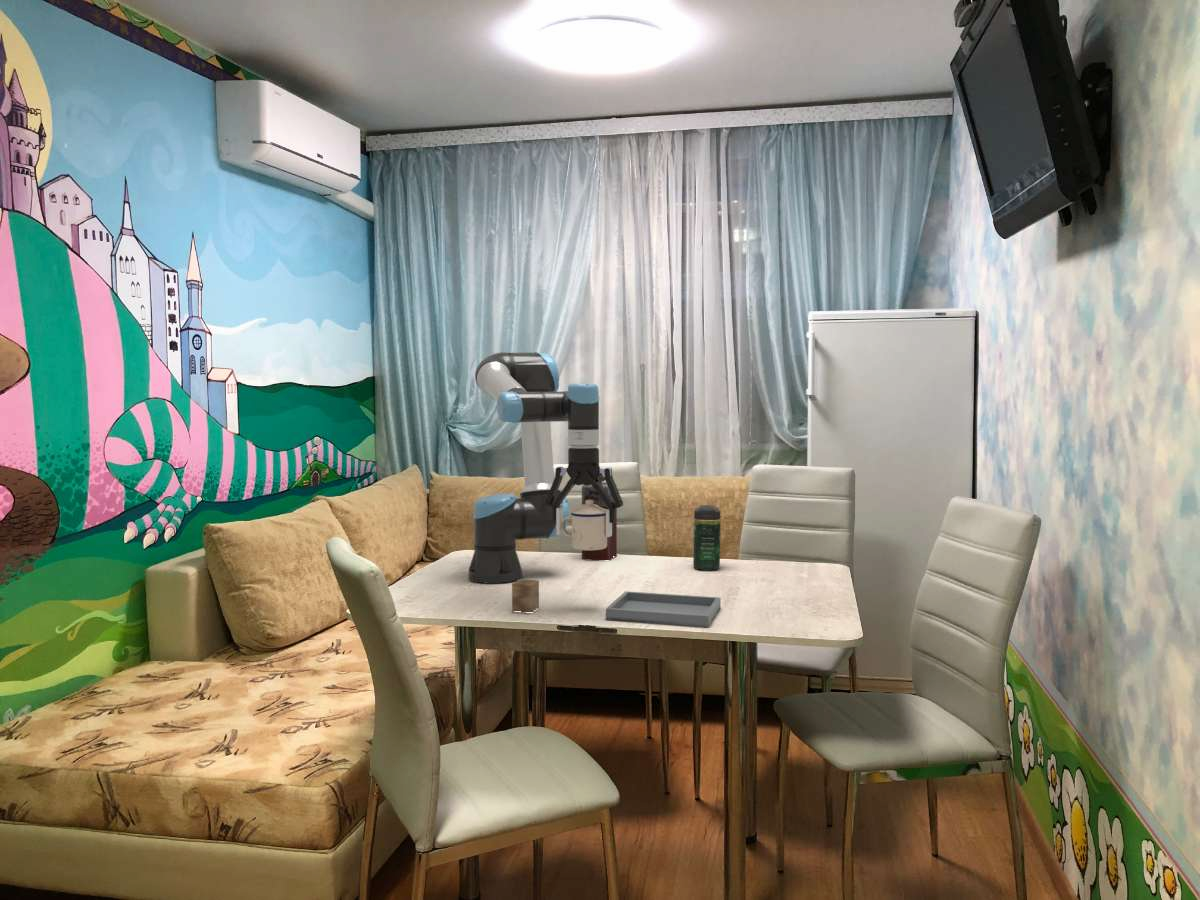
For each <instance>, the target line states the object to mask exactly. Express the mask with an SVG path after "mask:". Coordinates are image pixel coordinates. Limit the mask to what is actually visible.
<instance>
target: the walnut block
mask: <svg viewBox="0 0 1200 900" xmlns="http://www.w3.org/2000/svg"><path fill="white" fill-rule="evenodd" d="M511 583H512V582H511ZM511 608H512V609H511V612H512V611H521V612H533V611H534V610H536V609H537V608H539V609H540V581H539V580H538V579H537V580H536V579H535V580H533V579H522V578H521V579H519V580H517V581H513V583H512V584H511ZM536 611H537V610H536Z"/></svg>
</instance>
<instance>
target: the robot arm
mask: <svg viewBox="0 0 1200 900" xmlns="http://www.w3.org/2000/svg"><path fill="white" fill-rule="evenodd" d="M558 368H559V367H558V364H557V362H556V360H555V359H554V357H553V356H552V355H551V354H549V353H545V352H542V353H541V352H536V351H535V352H496V353H493V354H491V355H488V356H487V357H485V358H484V359H483V360H481V361H480V362H479V364H478V365H477V367H476V370H475V373H474V380H475V384H476V385H477V387H478V388H479V389H480V390H481V392H483V394H486V395H489V396H491V397H492V398H493V400H495V401H496V409H497V410H496V411H497V415H498V419H499V420H500V421H501V422H502V423H513V424H517V423H520V429H521V431H520V432H521V447H522V459H523V460H522V461H523V478H524V487H523V488H522V489H521V491H520V493H519V494H520V496H519V497H520V498H517V496H516V495H515V494H514V493H498V494H497V493H496V494H491V495H486V496H483V497H480V498H479V499H477V500H476V501H475V502H474V505H473V517H472V518H473V541H474V542H473V543H474V544H473V545H474V546H473V547H474V548H473V549H474V550H473V554H472V558H471V560H470V564H469V566H468V567H469V568H468V575H467V576H468V577H467V579H468V578H469V579H470V580H469V579H468V580H469V581H471V580H473V581H477V582H476V583H478V582H487V583H486V584H503V583H502V582H507V583H512V582H511V581H513V582H516V580H517V581H518V580H519V579H522V578H523V568H522V564H521V561H520V559H519V556H518V553H517V540H518V541H520V540H534V539H536V540H537V539H546V540H548V539H550V538H558V537H560V536H562V535H563V534H564V533H563V531H562V529H561V522H562V520H563V519H564V518H566V517H570V506H569V503H568V498H567V496H568V495H569V493H570V492H571V491H572V489H573V488H574V487H575V486H583V485H588V486H589V485H592V487H593V488H595V490H596V491H597V493H598V494H599V495H600V497H601V498H602V500H603V501H604V502H605V504H606V505H607V507H608V508H609V509H607V510H606V537H610V536H612V523H614V522H615V521H616V509H618V508H621V507H623V506H624V501H623V499H622V497H621V495H620V492H619V489H618V487H616V486H617V483H616V484H615V479H614V477H613V469H612V468H611V467H606V468H601V467H600V449H599V447H597V446H599V445H600V427H599V426H600V418H599V417H600V395H599V394H600V393H599V386H598V384H597V383H594V382H593V383H592V382H591V383H589V382H588V383H570V384H568V386H567V390H565V391H558V390H559V386H560V372H559V369H558ZM551 422H552V423H554V422H555V423H556V422H567V438H568V439H567V442H568V443H567V444H568V446H570V447H569V448H568V449H567V451H568V452H567V453H568V454H567V463H568V464H567V467H563V466H557V467H556V468H554V456H553V442H552V440H553V439H552V428H551ZM554 469H555V471H554ZM600 473H601V474H602V475H603V477H605V480H604V481H605V483H607V485H608V488H609V490H610V492H611V495H612V497H613V500H614V502H615V503H614V502H613V500H612V499H611V497H610V496H609V495H608V493H607V492H606V490H605V489H604V488H603V486H602V485H601V482H600V481H599V479H598V476H599V475H600ZM566 474H567V475H568V477H569V480H568V481H567V482H566V483H565V484H566V485H565V486H564V487H563V489H562V490H561V488H560V487H561V483H562V481H563V478H564V476H566ZM568 523H569V520H566V521H565V529H566V530H567V526H568ZM473 581H472V582H473Z"/></svg>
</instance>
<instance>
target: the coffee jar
mask: <svg viewBox="0 0 1200 900" xmlns="http://www.w3.org/2000/svg"><path fill="white" fill-rule="evenodd" d="M693 513H694V515H693V556H692V557H693V561H692V563H693V568H694V569H696V570H698V569H699V570H702V571H711V570H718V569H720V565H721V533H722V532H721V528H722V527H721V510H720V509H719V508H717V507H716V506H715V505H711V504H702V505H700V506H698V507H696V508H695V509H694V512H693Z"/></svg>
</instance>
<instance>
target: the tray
mask: <svg viewBox="0 0 1200 900" xmlns="http://www.w3.org/2000/svg"><path fill="white" fill-rule="evenodd" d="M719 609H720V610H721V597H719V596H701V595H689V594H672V593H671V594H670V593H658V592H657V593H656V592H655V593H654V592H643V591H642V592H641V591H628V590H627V591H624V592H623V593H622V594H620V595H619V596H618V598H616V599H615V600H613V601H612V602H611V603H610V604H609V605H608V606H607V607H606V608H605V620H606V621H617V622H631V623H632V622H633V623H645V624H655V625H656V624H657V625H658V624H659V625H668V626H669V625H670V626H681V627H682V626H684V627H685V626H686V627H695V628H709V627H710V626H711V624H712V623H711V622H713V621H714V620H715V618H716V616H717V614H718V613H719V611H720V610H719ZM717 612H718V613H717ZM714 617H715V618H714Z"/></svg>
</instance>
